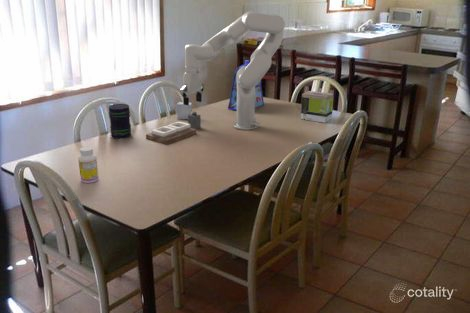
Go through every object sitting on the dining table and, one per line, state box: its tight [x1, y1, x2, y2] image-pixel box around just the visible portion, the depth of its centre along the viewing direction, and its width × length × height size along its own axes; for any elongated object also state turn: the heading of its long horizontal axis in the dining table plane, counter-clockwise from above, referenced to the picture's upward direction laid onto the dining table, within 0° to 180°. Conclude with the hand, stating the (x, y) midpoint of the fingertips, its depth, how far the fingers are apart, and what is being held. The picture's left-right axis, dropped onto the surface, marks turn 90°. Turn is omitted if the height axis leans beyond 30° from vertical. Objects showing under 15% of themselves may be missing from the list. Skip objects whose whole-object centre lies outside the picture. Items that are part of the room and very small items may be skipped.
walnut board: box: [145, 128, 197, 145], centre depth 224 cm, size 14×21×2 cm, turn 143°
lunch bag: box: [227, 59, 265, 111], centre depth 272 cm, size 22×14×29 cm, turn 147°
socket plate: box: [151, 120, 190, 138], centre depth 224 cm, size 10×19×2 cm, turn 143°
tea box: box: [300, 90, 334, 124], centre depth 251 cm, size 15×10×15 cm
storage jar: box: [108, 103, 132, 140], centre depth 222 cm, size 10×10×15 cm
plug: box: [187, 111, 202, 130], centre depth 236 cm, size 5×4×8 cm
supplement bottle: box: [77, 146, 100, 184], centre depth 172 cm, size 7×7×13 cm
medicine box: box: [176, 101, 193, 120], centre depth 252 cm, size 8×4×9 cm, turn 84°
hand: (192, 103), depth 233 cm, fingers open, 9 cm apart
